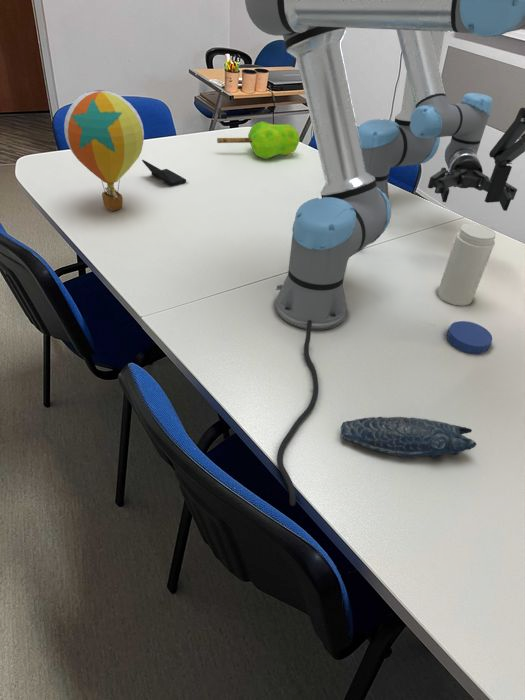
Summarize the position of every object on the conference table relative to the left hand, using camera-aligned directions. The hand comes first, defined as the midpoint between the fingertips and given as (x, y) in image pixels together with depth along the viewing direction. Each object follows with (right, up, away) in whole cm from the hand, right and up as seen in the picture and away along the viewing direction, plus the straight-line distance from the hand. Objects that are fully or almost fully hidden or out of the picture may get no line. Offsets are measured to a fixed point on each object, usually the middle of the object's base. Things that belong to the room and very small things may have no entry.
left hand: (516, 217), depth 91 cm
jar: (+1, -11, +31) cm, 33 cm away
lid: (-2, -20, +16) cm, 26 cm away
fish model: (-22, -39, -7) cm, 45 cm away
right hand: (+4, +10, +26) cm, 29 cm away
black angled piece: (-76, +30, +73) cm, 109 cm away
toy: (-86, +16, +54) cm, 103 cm away
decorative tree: (-46, +48, +98) cm, 119 cm away
